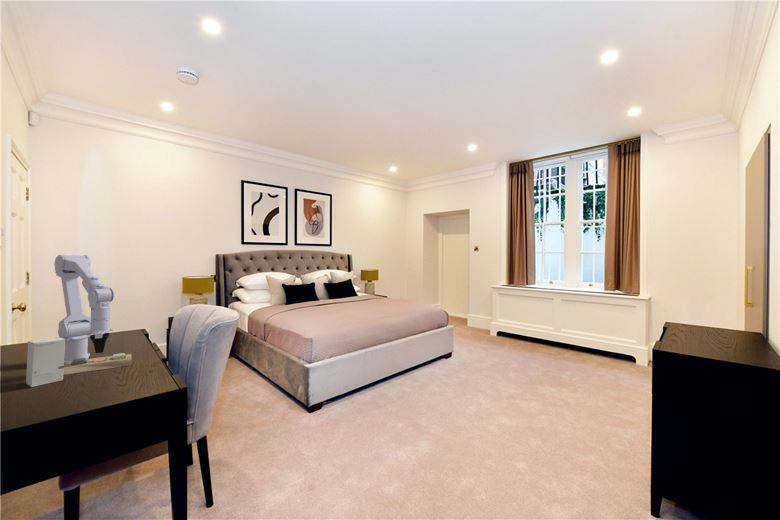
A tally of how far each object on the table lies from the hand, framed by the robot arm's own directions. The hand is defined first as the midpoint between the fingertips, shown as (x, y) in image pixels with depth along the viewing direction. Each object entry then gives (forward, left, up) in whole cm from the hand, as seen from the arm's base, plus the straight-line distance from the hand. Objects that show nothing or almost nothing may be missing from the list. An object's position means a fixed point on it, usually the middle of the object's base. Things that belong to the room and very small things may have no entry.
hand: (99, 352), depth 131 cm
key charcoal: (0, -6, -4) cm, 7 cm away
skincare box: (+10, -13, -6) cm, 18 cm away
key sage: (0, +6, -4) cm, 7 cm away
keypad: (0, 0, -6) cm, 6 cm away
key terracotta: (0, 0, -5) cm, 5 cm away
